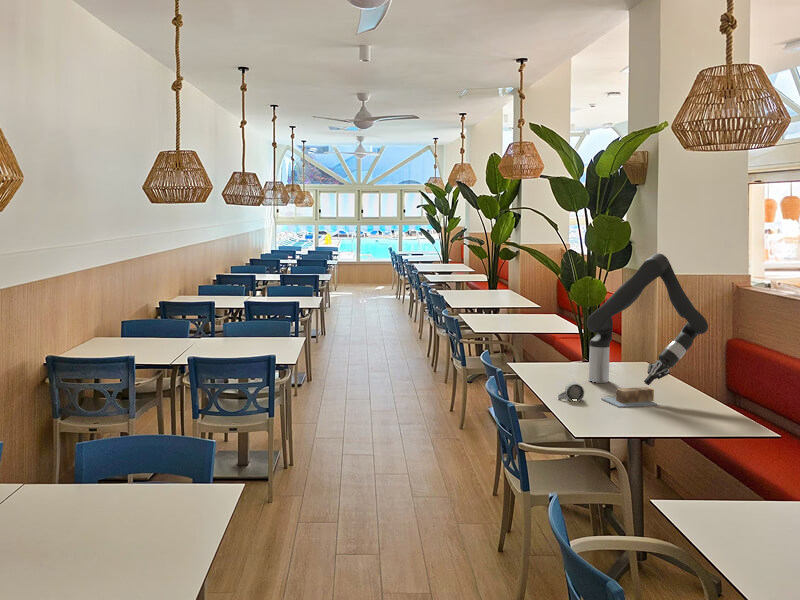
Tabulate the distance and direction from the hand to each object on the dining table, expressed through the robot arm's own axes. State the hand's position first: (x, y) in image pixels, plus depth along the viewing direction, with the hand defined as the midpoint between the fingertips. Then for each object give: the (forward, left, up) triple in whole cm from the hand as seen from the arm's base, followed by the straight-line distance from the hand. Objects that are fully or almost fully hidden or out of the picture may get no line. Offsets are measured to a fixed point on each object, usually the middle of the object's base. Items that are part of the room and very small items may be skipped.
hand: (646, 383), depth 308 cm
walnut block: (-2, +1, -5) cm, 5 cm away
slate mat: (+7, -4, -8) cm, 11 cm away
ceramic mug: (+21, -24, -8) cm, 33 cm away
